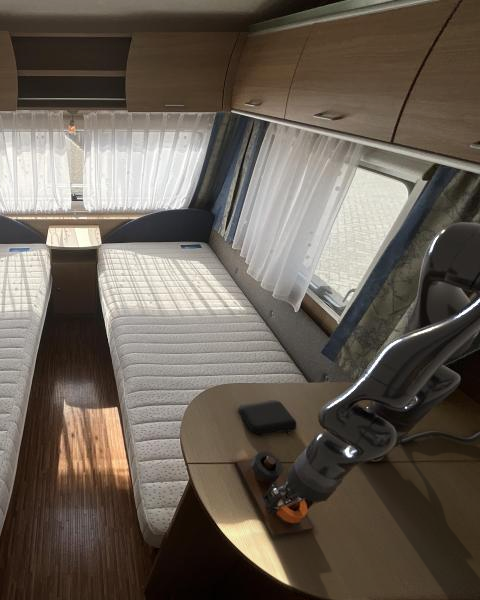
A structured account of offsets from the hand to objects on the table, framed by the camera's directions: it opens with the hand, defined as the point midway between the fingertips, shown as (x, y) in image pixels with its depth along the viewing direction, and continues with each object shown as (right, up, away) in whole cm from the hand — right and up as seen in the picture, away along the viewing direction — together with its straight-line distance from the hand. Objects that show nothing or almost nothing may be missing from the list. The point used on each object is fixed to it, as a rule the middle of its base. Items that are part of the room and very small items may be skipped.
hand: (286, 507), depth 78 cm
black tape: (-1, +5, +7) cm, 9 cm away
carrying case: (+8, +12, +23) cm, 27 cm away
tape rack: (0, 0, +6) cm, 6 cm away
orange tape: (0, 0, 0) cm, 0 cm away
